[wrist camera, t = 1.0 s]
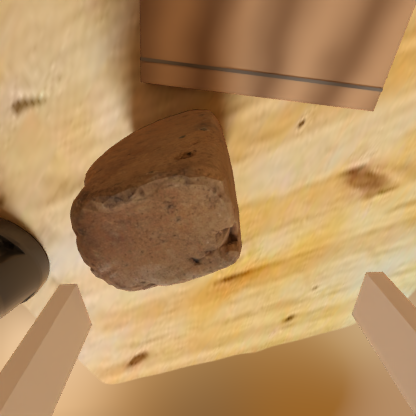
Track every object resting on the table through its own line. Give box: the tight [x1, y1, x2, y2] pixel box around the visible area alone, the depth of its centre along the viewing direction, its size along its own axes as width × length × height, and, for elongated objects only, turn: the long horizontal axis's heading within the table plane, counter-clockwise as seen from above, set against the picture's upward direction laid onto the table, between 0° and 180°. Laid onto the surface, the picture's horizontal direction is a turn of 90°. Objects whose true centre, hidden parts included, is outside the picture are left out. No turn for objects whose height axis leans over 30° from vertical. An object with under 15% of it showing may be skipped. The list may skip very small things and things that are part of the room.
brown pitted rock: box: [70, 110, 242, 291], centre depth 21 cm, size 11×8×20 cm
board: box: [140, 0, 416, 111], centre depth 24 cm, size 24×10×2 cm, turn 84°
